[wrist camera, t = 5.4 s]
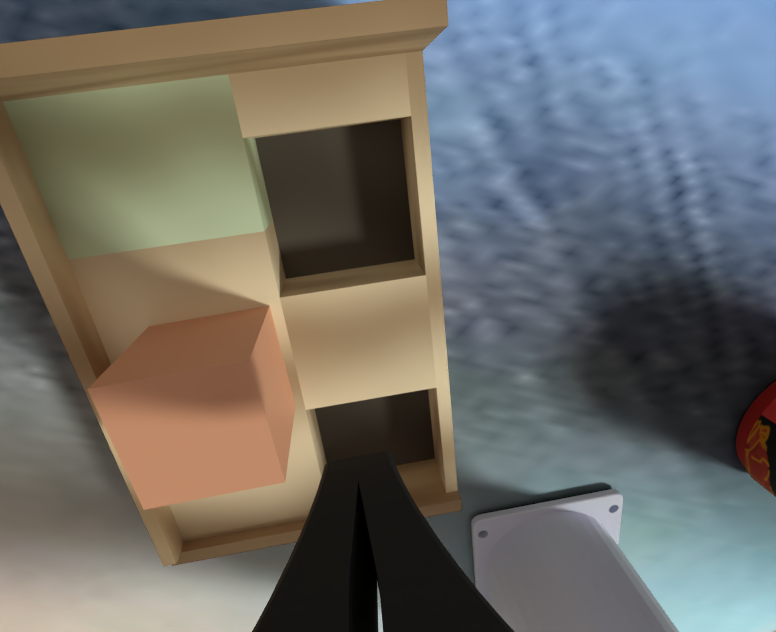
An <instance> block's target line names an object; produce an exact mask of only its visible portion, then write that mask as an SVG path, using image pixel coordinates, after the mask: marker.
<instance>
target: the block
mask: <svg viewBox="0 0 776 632" xmlns="http://www.w3.org/2000/svg"><path fill="white" fill-rule="evenodd" d="M87 390H88V392H89V394H90V396H91V398H92V401H93V403H94V405H95V407H96V409H97V411H98V413H99V416H100V418H101V420H102V422H103V424H104V426H105V428H106V431H107V433H108V435H109V437H110V439H111V441H112V443H113V445H114V448H115V450H116V452H117V454H118V456H119V458H120V460H121V463H122V465H123V467H124V469H125V471H126V473H127V475H128V478H129V480H130V482H131V484H132V486H133V488H134V490H135V492H136V495H137V497H138V499H139V501H140V503H141V505H142V507H143V510H146V509H151V508H156V507H161V506H166V505H172V504H177V503H182V502H187V501H192V500H197V499H202V498H207V497H212V496H218V495H223V494H228V493H233V492H238V491H243V490H248V489H253V488H258V487H264V486H269V485H274V484H279V483H284V482H285V480H286V473H287V465H288V458H289V450H290V443H291V435H292V428H293V420H294V413H295V401H294V397H293V394H292V390H291V386H290V382H289V378H288V374H287V371H286V367H285V363H284V359H283V355H282V351H281V347H280V344H279V340H278V336H277V332H276V328H275V324H274V321H273V317H272V313H271V309H270V306H264V307H258V308H252V309H247V310H241V311H235V312H229V313H223V314H218V315H212V316H206V317H200V318H194V319H188V320H183V321H177V322H171V323H165V324H159V325H153V326H149V327H148V328H147V329H146V330H145V331H144V332H143V333H142V334H141V335H140V336H139V337H138V338H137V339H136V340H135V341H134V342H133V343H132V344H131V345H130V346H129V347H128V348H127V349H126V350H125V351H124V352H123V353H122V354H121V355H120V356H119V357H118V358H117V359H116V360H115V361H114V362H113V363H112V364H111V365H110V366H109V367H108V368H107V369H106V370H105V371H104V373H103V374H102V375H101V376H100V377H99V378H98V379H97V380H96V381H95V382H94V383H93V384H92V385H91V386H90V387H89V388H88V389H87Z"/></svg>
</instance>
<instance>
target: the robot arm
mask: <svg viewBox="0 0 776 632" xmlns="http://www.w3.org/2000/svg"><path fill="white" fill-rule="evenodd" d="M622 505H623V496H622V495H621V494H620V493H619V491H618V490H615V489H610V490H605V491H599V492H594V493H589V494H584V495H579V496H573V497H568V498H563V499H558V500H553V501H547V502H542V503H537V504H532V505H527V506H521V507H516V508H511V509H506V510H501V511H495V512H490V513H485V514H480V515H477V516H475V517H474V518H473V519H472V521H471V530H472V545H473V559H474V574H475V586H474V585H473V583H472V582H471V581H470V580H469V578H468V577H467V576H466V575H465V573H464V572H463V571H462V569H461V568H460V567H459V566H458V564H457V563H456V562H455V560H454V559H453V558H452V556H451V555H450V554H449V552H448V551H447V550H446V548H445V547H444V546H443V544H442V543H441V541H440V540H439V538H438V537H437V536H436V534H435V533H434V531H433V530H432V528H431V527H430V525H429V524H428V522H427V521H426V519H425V517H424V516H423V514H422V513H421V511H420V510H419V508H418V507H417V505H416V503H415V502H414V500H413V498H412V497H411V495H410V493H409V491H408V489H407V488H406V486H405V484H404V482H403V480H402V478H401V476H400V474H399V472H398V470H397V467H396V465H395V462H394V459H393V456H392V454H391V453H389V452H387V451H382V452H377V453H371V454H366V455H360V456H354V457H349V458H343V459H338V460H332V461H328V463H327V464H326V465H325V466H324V470H323V473H322V477H321V480H320V483H319V487H318V490H317V493H316V495H315V498H314V501H313V504H312V506H311V509H310V512H309V514H308V517H307V519H306V522H305V524H304V526H303V529H302V531H301V533H300V536H299V538H298V541H297V543H296V545H295V548H294V550H293V552H292V554H291V557H290V559H289V561H288V563H287V565H286V567H285V569H284V571H283V573H282V575H281V577H280V579H279V581H278V583H277V585H276V587H275V589H274V591H273V593H272V596H271V598H270V600H269V601H268V603H267V605H266V607H265V609H264V611H263V613H262V615H261V616H260V618H259V620H258V622H257V624H256V626H255V627H254V629H253V631H252V632H378V603H377V582H378V587H379V592H380V599H381V610H382V621H383V632H679V631H678V630H677V628H676V627H675V625H674V624H673V623H672V621H671V620H670V618H669V617H668V615H667V614H666V613H665V611H664V610H663V608H662V607H661V606H660V604H659V603H658V601H657V600H656V599H655V597H654V596H653V594H652V593H651V591H650V590H649V589H648V587H647V586H646V584H645V583H644V582H643V580H642V579H641V577H640V576H639V575H638V573H637V572H636V570H635V569H634V567H633V566H632V565H631V563H630V562H629V560H628V559H627V558H626V556H625V555H624V553H623V552H622V551H621V549H620V548H619V546H618V542H619V533H620V523H621V514H622ZM481 531H482V532H481Z"/></svg>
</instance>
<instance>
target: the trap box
mask: <svg viewBox="0 0 776 632" xmlns="http://www.w3.org/2000/svg"><path fill="white" fill-rule="evenodd" d="M447 26H448V12H447V0H383V1H374V2H365V3H356V4H347V5H338V6H330V7H321V8H312V9H303V10H294V11H285V12H277V13H268V14H259V15H250V16H241V17H232V18H223V19H215V20H206V21H197V22H188V23H179V24H170V25H161V26H153V27H144V28H135V29H126V30H117V31H108V32H99V33H91V34H82V35H73V36H64V37H55V38H46V39H37V40H29V41H20V42H11V43H2V44H0V204H1V207H2V209H3V211H4V213H5V215H6V218H7V220H8V222H9V224H10V227H11V229H12V231H13V233H14V235H15V238H16V240H17V242H18V244H19V246H20V249H21V251H22V253H23V255H24V258H25V260H26V262H27V264H28V266H29V269H30V271H31V273H32V275H33V278H34V280H35V282H36V284H37V286H38V289H39V291H40V293H41V295H42V298H43V300H44V302H45V304H46V306H47V309H48V311H49V313H50V315H51V318H52V320H53V322H54V324H55V326H56V329H57V331H58V333H59V335H60V338H61V340H62V342H63V344H64V346H65V349H66V351H67V353H68V355H69V358H70V360H71V362H72V364H73V366H74V369H75V371H76V373H77V375H78V378H79V380H80V382H81V384H82V386H83V389H84V391H85V393H86V395H87V397H88V400H89V402H90V404H91V406H92V409H93V411H94V413H95V415H96V417H97V420H98V422H99V424H100V426H101V429H102V431H103V433H104V435H105V437H106V440H107V442H108V444H109V446H110V449H111V451H112V453H113V455H114V457H115V460H116V462H117V464H118V466H119V469H120V471H121V473H122V475H123V477H124V480H125V482H126V484H127V486H128V489H129V491H130V493H131V495H132V497H133V500H134V502H135V504H136V506H137V509H138V511H139V513H140V515H141V517H142V520H143V522H144V524H145V526H146V529H147V531H148V533H149V535H150V537H151V540H152V542H153V544H154V546H155V549H156V551H157V553H158V555H159V557H160V560H161V562H162V564H163V566H167V565H172V566H173V565H178V564H183V563H189V562H194V561H199V560H204V559H210V558H215V557H220V556H225V555H231V554H236V553H241V552H246V551H251V550H257V549H262V548H267V547H272V546H278V545H283V544H288V543H293V542H297V541H298V538H299V536H300V533H301V531H302V529H303V526H304V524H305V522H306V519H307V517H308V514H309V512H310V509H311V506H312V504H313V501H314V498H315V495H316V493H317V490H318V487H319V483H320V480H321V477H322V473H323V470H324V466H325V465H326V464H327V463H328V461H332V460H338V459H343V458H349V457H354V456H360V455H366V454H371V453H377V452H382V451H387V452H389V453H391V454H392V456H393V459H394V462H395V465H396V467H397V470H398V472H399V474H400V476H401V478H402V480H403V482H404V484H405V486H406V488H407V489H408V491H409V493H410V495H411V497H412V498H413V500H414V502H415V503H416V505H417V507H418V508H419V510H420V511H421V513H422V514H423V516H424V517H429V516H434V515H440V514H445V513H450V512H455V511H461V510H462V506H461V498H460V495H459V493H458V487H457V475H456V462H455V450H454V437H453V425H452V412H451V400H450V387H449V375H448V363H447V350H446V338H445V325H444V313H443V300H442V288H441V275H440V263H439V250H438V238H437V226H436V213H435V201H434V188H433V176H432V163H431V151H430V138H429V126H428V113H427V101H426V89H425V76H424V64H423V50H424V49H425V48H426V47H427V46H428V45H429V44H430V43H431V42H432V41H433V40H434V39H435V38H436V37H437V36H438V35H439V34H440V33H441V32H442V31H443V30H444V29H445V28H446V27H447ZM264 306H270V309H271V313H272V317H273V321H274V324H275V328H276V332H277V336H278V340H279V344H280V347H281V351H282V355H283V359H284V363H285V367H286V371H287V374H288V378H289V382H290V386H291V390H292V394H293V397H294V401H295V413H294V420H293V428H292V435H291V443H290V450H289V458H288V465H287V473H286V480H285V482H284V483H279V484H274V485H269V486H264V487H258V488H253V489H248V490H243V491H238V492H233V493H228V494H223V495H218V496H212V497H207V498H202V499H197V500H192V501H187V502H182V503H177V504H172V505H166V506H161V507H156V508H151V509H146V510H143V507H142V505H141V503H140V501H139V499H138V497H137V495H136V492H135V490H134V488H133V486H132V484H131V482H130V480H129V478H128V475H127V473H126V471H125V469H124V467H123V465H122V463H121V460H120V458H119V456H118V454H117V452H116V450H115V448H114V445H113V443H112V441H111V439H110V437H109V435H108V433H107V431H106V428H105V426H104V424H103V422H102V420H101V418H100V416H99V413H98V411H97V409H96V407H95V405H94V403H93V401H92V398H91V396H90V394H89V392H88V390H87V389H88V388H89V387H90V386H91V385H92V384H93V383H94V382H95V381H96V380H97V379H98V378H99V377H100V376H101V375H102V374H103V373H104V371H105V370H106V369H107V368H108V367H109V366H110V365H111V364H112V363H113V362H114V361H115V360H116V359H117V358H118V357H119V356H120V355H121V354H122V353H123V352H124V351H125V350H126V349H127V348H128V347H129V346H130V345H131V344H132V343H133V342H134V341H135V340H136V339H137V338H138V337H139V336H140V335H141V334H142V333H143V332H144V331H145V330H146V329H147V328H148V327H149V326H153V325H159V324H165V323H171V322H177V321H183V320H188V319H194V318H200V317H206V316H212V315H218V314H223V313H229V312H235V311H241V310H247V309H252V308H258V307H264Z"/></svg>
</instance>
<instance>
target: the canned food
mask: <svg viewBox="0 0 776 632" xmlns="http://www.w3.org/2000/svg"><path fill="white" fill-rule="evenodd" d="M736 451H737V454H738V458H739V459H740V461H741V462H742V464H743V465H744V467H745V468H746V470H747V471H748V473H749V474H750V475H751V477H752V478H753V479H754V480H755V481H757V482H758V483H759V484H760V485H762V486H763V487H764V488H765V489H767V490H768V491H769V492H770V493H772V494H773V495H774V496H775V497H776V381H775V382H773V383H772V384H771V385H770V386H769V387H767V388H766V389H765V390H764V391H763V392H762V393H761V394H760V395H759V396H758V397H757V398H756V399H755V401H754V402H753V403H752V404H751V406H750V407H749V409H748V410H747V412H746V413H745V415H744V417H743V419H742V421H741V423H740V425H739V429H738V433H737V437H736Z"/></svg>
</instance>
